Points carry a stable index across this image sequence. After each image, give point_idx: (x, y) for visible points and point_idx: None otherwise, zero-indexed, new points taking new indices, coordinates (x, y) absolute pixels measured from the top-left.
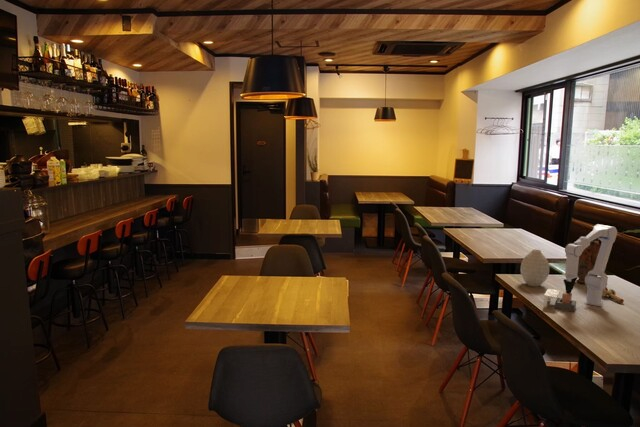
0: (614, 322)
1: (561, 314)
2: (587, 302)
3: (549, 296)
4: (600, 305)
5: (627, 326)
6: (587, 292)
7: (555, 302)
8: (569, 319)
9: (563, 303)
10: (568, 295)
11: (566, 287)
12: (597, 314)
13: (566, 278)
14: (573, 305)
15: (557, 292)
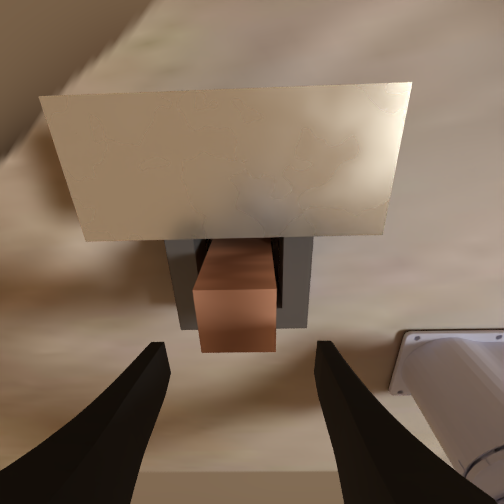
0: (176, 432)
1: (83, 251)
2: (423, 344)
3: (67, 168)
4: (395, 392)
5: (165, 459)
6: (486, 395)
7: None
8: (36, 298)
9: (173, 267)
10: (200, 332)
11: (109, 402)
12: (241, 385)
13: (380, 481)
14: (180, 324)
15: (284, 222)
